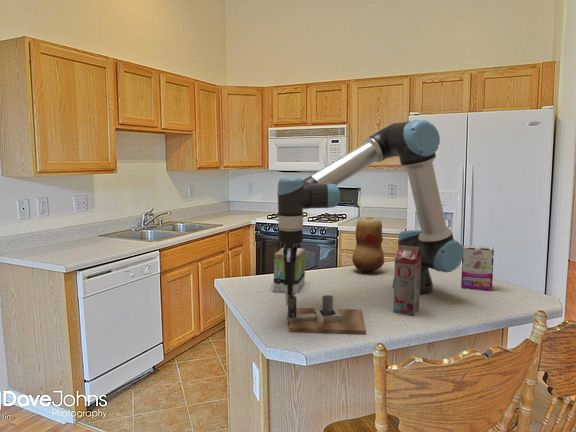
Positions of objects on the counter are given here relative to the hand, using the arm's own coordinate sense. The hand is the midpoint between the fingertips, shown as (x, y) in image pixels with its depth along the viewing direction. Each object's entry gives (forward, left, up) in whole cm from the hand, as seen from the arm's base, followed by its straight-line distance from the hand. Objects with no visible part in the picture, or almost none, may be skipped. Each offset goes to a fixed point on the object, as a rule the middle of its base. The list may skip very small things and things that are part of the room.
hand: (290, 304), depth 134 cm
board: (-12, 0, -5) cm, 13 cm away
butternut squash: (-30, -64, -6) cm, 71 cm away
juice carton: (-38, -12, -6) cm, 40 cm away
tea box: (+3, -37, -6) cm, 38 cm away
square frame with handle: (-7, +1, -4) cm, 8 cm away
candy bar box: (-70, -42, -6) cm, 81 cm away
